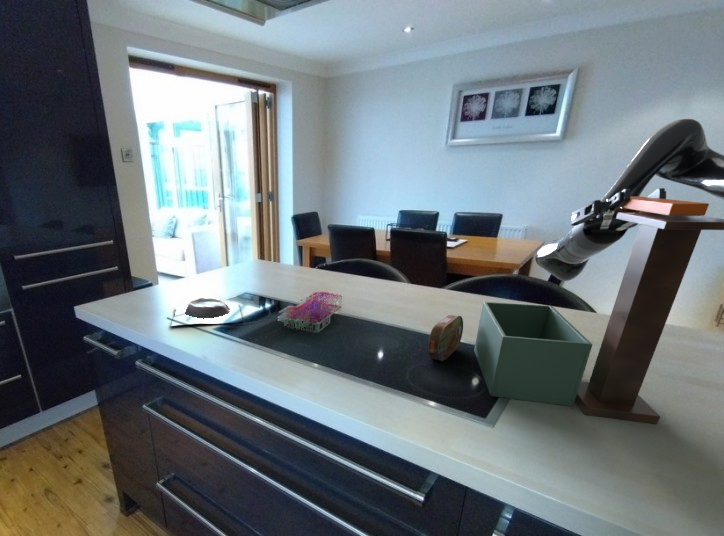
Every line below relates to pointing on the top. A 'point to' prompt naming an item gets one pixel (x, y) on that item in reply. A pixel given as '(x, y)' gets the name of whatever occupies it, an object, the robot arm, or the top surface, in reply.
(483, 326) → the bin
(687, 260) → the stand
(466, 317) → the top surface
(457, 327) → the tin
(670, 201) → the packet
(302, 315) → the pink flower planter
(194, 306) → the dark grey round dish
